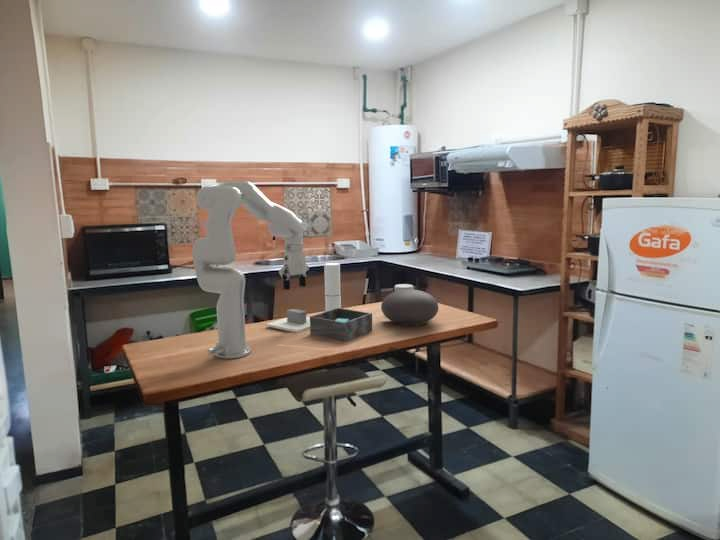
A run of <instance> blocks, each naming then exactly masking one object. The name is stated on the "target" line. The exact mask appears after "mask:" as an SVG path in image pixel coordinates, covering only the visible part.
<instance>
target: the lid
mask: <svg viewBox="0 0 720 540" xmlns="http://www.w3.org/2000/svg"><path fill="white" fill-rule="evenodd" d="M265 326H266V327H269V328H272V329H275V330H276V329H277V330H281V331H287V332H290V333H293V332H294V333H301V332H304V331H307V330H309V329H310V316H307V311H306V310H302V309H296V308H295V309H294V308H291V309H287V310H286V317H284V318H281V319H277V320H274V321H271V322H268V323H266V325H265Z"/></svg>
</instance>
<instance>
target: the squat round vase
mask: <svg viewBox="0 0 720 540" xmlns="http://www.w3.org/2000/svg"><path fill="white" fill-rule="evenodd" d="M380 308H381V312H382V314H383V316H384V317H386V319H388V320H389V321H391V322H393V323H395V324H399V325H403V326H416V325H417V326H418V325H422V324H424V323H425V324H426V323H427V322H429V321H431V320H433V319H434V318H435V317H436V316H437V314H438V312H439V303H438V301H437V299H435V297H434V296H432V295H431V294H430V293H428V292H426V291H424V290H419V289H415V288H413V289H404V290H399V291H395V290H394V291H393V292H391V293H390V294H388V295H386V296H385V297H384V299H383V300H382V302H381V305H380Z"/></svg>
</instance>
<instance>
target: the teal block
mask: <svg viewBox="0 0 720 540" xmlns="http://www.w3.org/2000/svg"><path fill="white" fill-rule="evenodd" d="M335 321H340V322H347V321H349V319H340V318H337V319H336V320H335Z"/></svg>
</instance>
